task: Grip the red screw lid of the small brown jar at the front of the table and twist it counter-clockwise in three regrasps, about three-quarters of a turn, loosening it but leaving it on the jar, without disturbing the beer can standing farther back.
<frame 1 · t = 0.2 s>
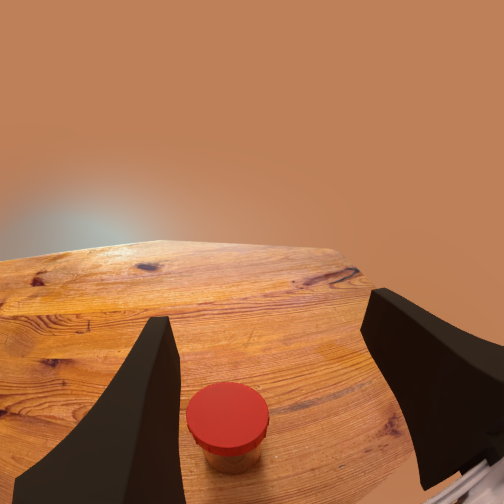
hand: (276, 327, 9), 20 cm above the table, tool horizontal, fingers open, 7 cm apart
jar: (232, 451, 21), on the table
jar lid: (227, 415, 17), point 8 cm above the table, screwed on, not yet turned
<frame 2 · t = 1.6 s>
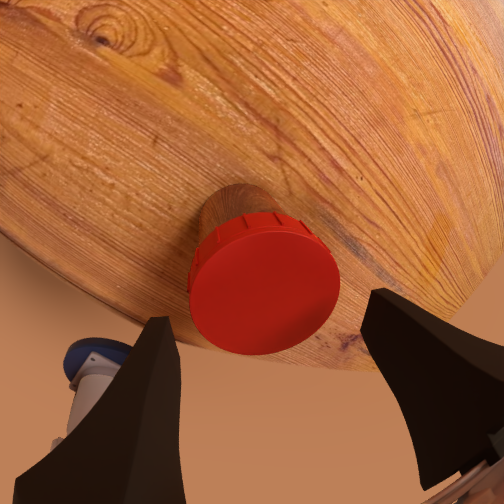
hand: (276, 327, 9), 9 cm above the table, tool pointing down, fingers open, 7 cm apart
jar: (240, 223, 17), on the table
jar lid: (266, 297, 11), point 8 cm above the table, screwed on, not yet turned
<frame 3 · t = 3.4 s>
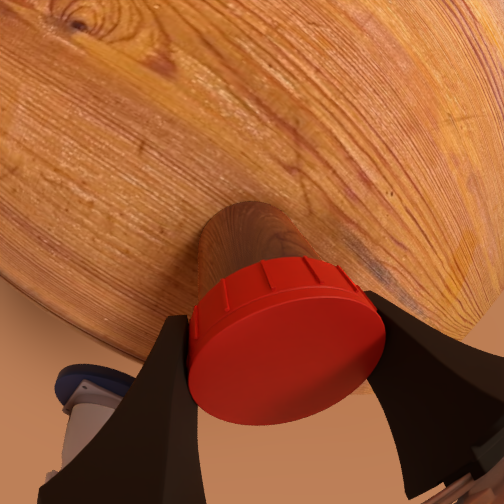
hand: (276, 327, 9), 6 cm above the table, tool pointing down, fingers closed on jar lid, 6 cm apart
jar: (248, 249, 14), on the table
jar lid: (290, 368, 8), point 8 cm above the table, screwed on, not yet turned, touching gripper
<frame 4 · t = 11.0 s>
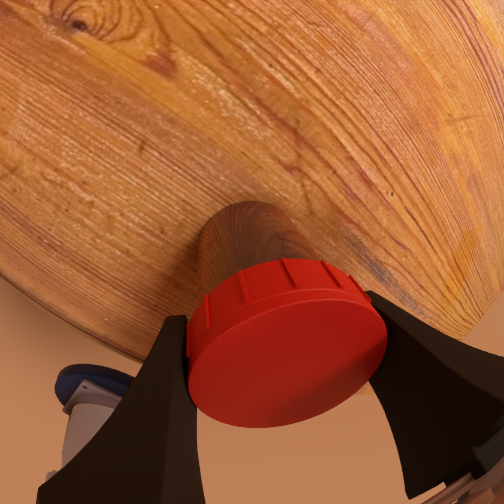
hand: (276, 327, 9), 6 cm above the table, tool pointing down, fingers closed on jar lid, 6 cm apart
jar: (248, 249, 14), on the table
jar lid: (291, 371, 7), point 8 cm above the table, turned 78° so far, risen 0.1 cm, still on its thread, touching gripper
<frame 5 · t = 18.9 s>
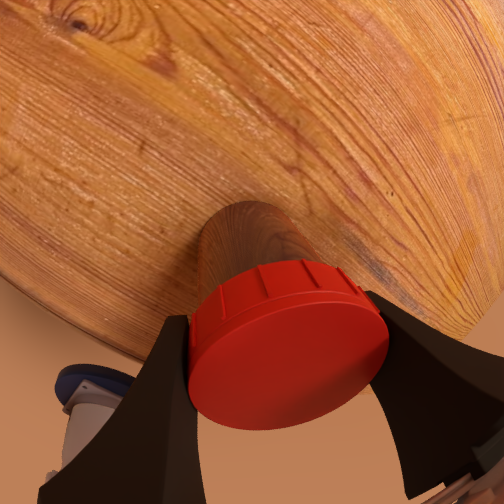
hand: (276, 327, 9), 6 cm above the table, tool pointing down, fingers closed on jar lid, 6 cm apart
jar: (248, 249, 14), on the table
jar lid: (292, 374, 7), point 8 cm above the table, turned 155° so far, risen 0.2 cm, still on its thread, touching gripper
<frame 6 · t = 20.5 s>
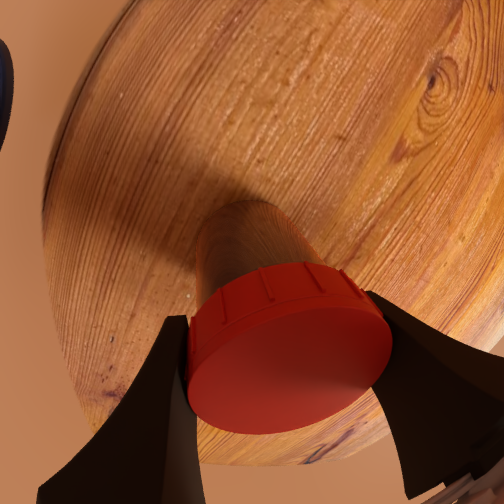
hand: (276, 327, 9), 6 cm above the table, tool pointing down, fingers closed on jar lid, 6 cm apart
jar: (247, 249, 14), on the table
jar lid: (293, 378, 7), point 8 cm above the table, turned 232° so far, risen 0.3 cm, still on its thread, touching gripper
when the fingers open (2 cm above the table, at t = 22.3 s): jar lid stays where it is, point 8 cm above the table.
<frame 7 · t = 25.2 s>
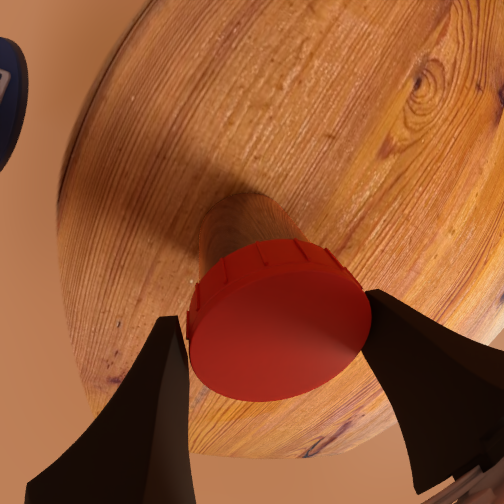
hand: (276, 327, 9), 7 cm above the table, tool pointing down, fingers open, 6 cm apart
jar: (245, 237, 15), on the table
jar lid: (283, 343, 8), point 8 cm above the table, turned 230° so far, risen 0.3 cm, still on its thread
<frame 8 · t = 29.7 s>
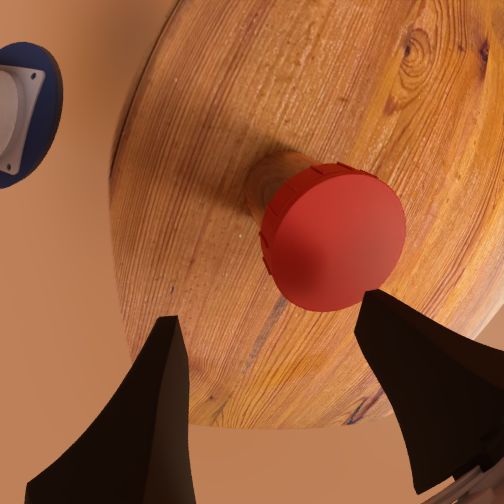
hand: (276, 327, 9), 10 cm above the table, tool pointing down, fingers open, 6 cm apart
jar: (285, 190, 17), on the table
jar lid: (342, 246, 10), point 8 cm above the table, turned 230° so far, risen 0.3 cm, still on its thread
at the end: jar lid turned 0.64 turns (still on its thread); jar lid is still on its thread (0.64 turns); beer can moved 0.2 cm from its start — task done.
